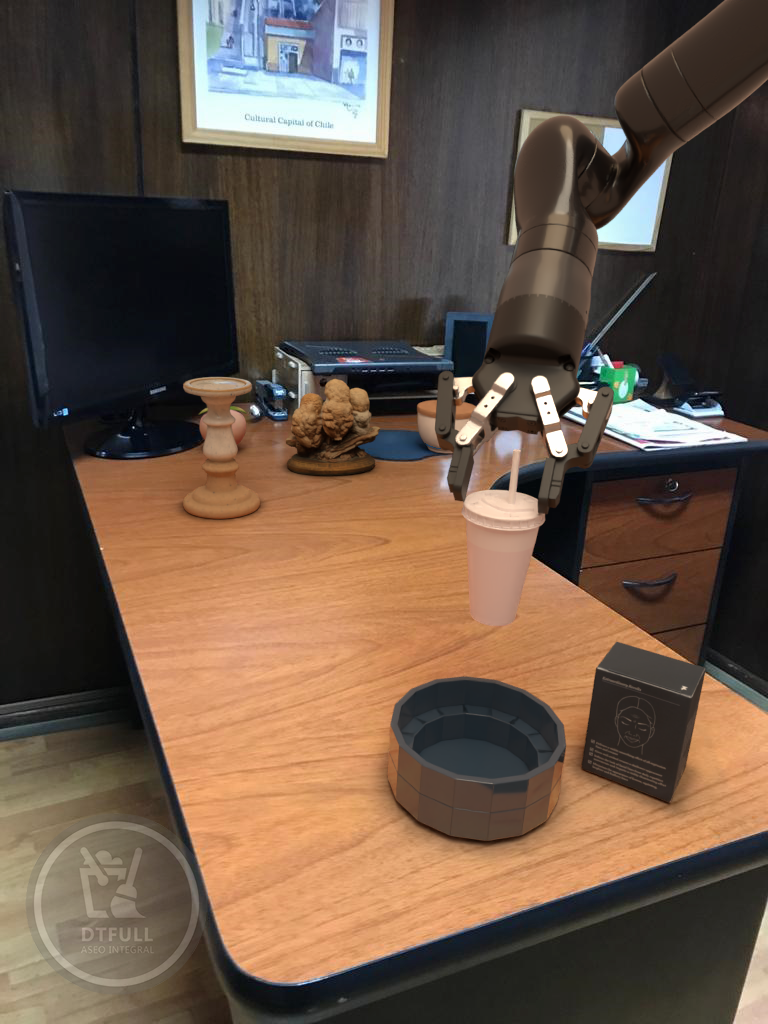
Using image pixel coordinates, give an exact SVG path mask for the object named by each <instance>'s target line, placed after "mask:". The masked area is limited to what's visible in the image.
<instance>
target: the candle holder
mask: <svg viewBox="0 0 768 1024" xmlns="http://www.w3.org/2000/svg"><path fill="white" fill-rule="evenodd" d="M182 385H183V386H182V388H183V390H184V392H185V393H187V394H189V395H192V396H198V397H200V398H201V401H202V402H203V403H205V406H206V408H208V412H207V415H206V416H205V417H204V418H203V422H204V423H205V424H206V425H207V432H206V438H205V440H204V442H203V444H202V445H203V446H202V454H203V456H204V457H205V458H207V459H206V460H204V462H203V463H202V465H201V469H202V470H203V471H204V473H205V474H206V482H205V483H206V484H203V485H200V486H198V487H196V488H195V489H194V490H193V491H190V492H189V493H187V494H186V495H185V496H184V498H183V500H182V506H183V510H185V512H187V513H188V514H190V515H193V516H196V517H198V518H203V519H213V520H214V519H215V520H217V519H219V520H222V519H224V520H225V519H233V518H239V517H243V516H247V515H250V514H252V513H254V512H255V511H257V510H258V509H259V508H260V506H261V497H260V495H259V494H258V492H255V491H254V490H252V489H250V488H248V487H247V486H245V485H242V484H240V483H237V478H236V473H237V472H238V470H239V469H240V463H239V462H238V461H237V460H236V459H235V457H236V456H237V454H238V452H239V449H238V444H236V442H235V439H234V435H233V431H232V424H234V423H235V418H234V417H233V416H232V415H231V413H230V406H232V403H234V402H235V401H236V397H238V396H239V397H240V396H243V395H246V394H248V393H250V392H251V391H252V389H253V384H252V382H251V381H250V380H247V379H243V378H238V377H228V376H208V377H207V376H206V377H196V378H192V379H189V380H185V381H184V382H183V384H182Z"/></svg>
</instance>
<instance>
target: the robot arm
mask: <svg viewBox="0 0 768 1024" xmlns="http://www.w3.org/2000/svg"><path fill="white" fill-rule="evenodd" d="M766 81H768V0H723V1H722V2H721V3H720V4H718V5H717V6H716V7H715V8H714V9H712V10H711V11H710V12H709V13H707V15H706V16H704V17H703V18H702V19H700V20H699V21H698V22H697V23H695V25H693V26H692V27H691V28H690V29H688V30H687V31H686V32H684V33H683V34H682V35H680V37H678V38H677V39H676V40H674V41H673V42H672V43H671V44H669V45H668V46H667V47H665V49H663V50H662V51H661V52H659V53H658V54H657V55H656V56H655V57H653V59H651V60H650V61H648V62H647V64H645V65H644V66H643V67H642V68H641V69H640V70H638V71H637V72H635V73H634V74H633V75H632V76H631V77H629V78H628V79H627V80H626V81H625V82H624V83H623V84H622V85H621V86H620V87H619V88H618V90H617V92H616V94H615V96H614V101H613V105H614V107H613V108H614V111H615V115H616V117H617V121H618V124H619V125H620V127H621V130H622V132H623V135H624V137H625V140H624V142H623V143H622V145H621V147H620V148H619V149H618V150H616V152H615V153H613V154H612V155H611V154H610V152H609V151H608V150H607V149H606V148H605V147H604V146H603V144H602V143H601V142H600V141H599V140H598V139H597V138H596V137H595V135H594V134H593V133H592V132H591V130H590V129H589V128H588V127H587V125H586V124H584V123H583V122H581V121H580V120H579V119H578V118H576V117H573V116H570V115H563V114H562V115H555V116H552V117H550V118H547V119H545V120H544V121H542V122H540V123H539V124H538V125H536V127H534V128H533V129H532V130H531V132H530V133H529V135H528V136H527V137H526V138H525V140H524V141H523V143H522V145H521V147H520V150H519V152H518V154H517V158H516V160H515V165H514V171H513V203H514V221H515V229H516V240H515V244H514V248H513V250H512V251H513V252H512V256H511V259H510V263H509V268H508V271H507V274H506V277H505V279H504V281H503V284H502V286H501V289H500V292H499V296H498V300H497V304H496V308H495V312H494V316H493V320H492V323H491V328H490V332H489V336H488V339H487V344H486V348H485V351H484V356H483V359H482V363H481V365H480V367H479V368H478V369H477V370H476V371H475V373H474V374H473V376H461V377H455V376H454V374H453V372H452V371H449V370H444V371H442V372H441V373H439V375H438V380H437V381H438V382H437V392H436V393H437V395H436V400H437V406H436V419H435V432H436V436H437V440H438V443H439V447H440V448H441V449H442V450H450V451H452V452H453V453H452V455H451V460H450V464H449V468H448V472H447V476H446V481H447V486H448V489H449V492H450V493H452V495H453V499H454V501H455V502H456V501H457V502H462V503H463V502H464V501H465V498H466V496H467V495H468V489H469V486H470V481H471V477H472V473H473V469H474V465H475V459H474V457H475V455H476V454H477V452H478V451H479V450H480V449H481V448H482V446H484V444H486V443H489V441H490V440H492V438H493V437H494V435H495V434H496V433H497V432H498V431H500V432H501V431H503V432H514V431H519V432H522V433H525V434H528V435H536V436H537V435H538V434H539V435H540V439H541V440H542V444H543V448H544V450H545V451H546V454H547V457H545V461H544V467H543V472H542V476H541V477H542V478H541V482H540V486H539V492H538V496H537V499H538V513H542V514H545V515H548V514H549V510H550V508H553V509H556V508H557V506H558V505H559V504H560V501H561V495H562V489H563V484H564V479H565V474H566V472H567V471H568V470H569V469H572V468H575V467H576V468H577V467H579V468H580V469H589V468H590V467H591V466H592V465H593V464H594V463H593V462H594V460H595V457H596V454H597V453H598V449H599V447H600V444H601V441H602V439H603V436H604V433H605V431H606V428H607V425H608V423H609V420H610V417H611V415H612V411H613V406H614V405H613V404H614V396H615V392H614V390H613V388H611V387H609V386H602V387H600V388H599V389H598V390H593V389H589V388H584V387H581V384H580V382H579V380H578V372H579V368H580V362H581V356H582V352H583V347H584V341H585V337H586V331H587V330H588V328H589V327H588V326H589V322H590V320H589V315H590V309H591V300H592V282H593V277H594V272H595V267H596V262H597V257H598V252H599V251H598V250H599V234H598V230H601V229H602V228H604V227H606V226H607V225H608V224H609V223H611V222H612V221H613V220H614V219H615V218H616V217H617V216H618V215H619V214H620V213H621V212H622V211H623V209H624V208H625V207H626V206H627V205H628V203H629V202H630V201H631V200H632V199H633V197H634V196H635V195H636V193H637V192H638V191H639V190H641V188H642V187H643V186H644V185H645V184H646V183H647V181H648V180H649V179H650V178H651V177H652V176H653V175H654V174H655V173H656V171H657V170H658V169H659V168H660V167H661V166H662V165H663V164H665V161H667V159H668V158H669V157H670V156H672V154H673V153H675V152H676V151H677V150H678V149H679V148H681V147H682V146H684V145H686V144H687V142H689V141H691V140H692V139H694V138H695V137H697V136H698V135H699V134H700V133H702V132H703V131H705V130H706V129H708V128H709V127H711V125H713V124H715V123H716V122H717V121H719V120H720V119H721V118H723V117H725V115H727V114H728V113H730V112H731V111H732V110H733V109H735V108H736V107H737V106H739V105H740V104H741V103H742V102H744V101H745V100H746V99H747V98H748V97H749V96H751V95H752V94H753V93H754V92H755V91H757V90H758V89H759V88H760V87H761V86H762V85H763V84H764V83H766ZM469 394H473V395H474V396H475V398H476V400H477V402H478V404H477V405H475V406H476V408H475V409H474V410H473V411H472V413H471V416H470V419H469V420H468V422H467V423H466V424H465V425H464V427H463V428H462V429H461V430H460V431H458V430H456V429H455V418H456V406H461V405H462V403H463V402H466V398H467V396H468V395H469ZM576 405H579V406H580V407H581V415H582V417H583V418H584V419H586V420H585V423H584V425H583V428H582V431H581V433H580V436H579V437H578V441H577V442H574V443H570V444H569V443H568V444H567V442H566V440H565V436H564V433H563V429H562V423H561V420H560V419H562V417H564V415H566V414H567V413H568V412H569V411H571V410H572V409H573V408H575V406H576ZM450 493H449V494H450Z"/></svg>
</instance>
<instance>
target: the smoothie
mask: <svg viewBox="0 0 768 1024" xmlns="http://www.w3.org/2000/svg"><path fill="white" fill-rule="evenodd" d="M521 454H522V450H520V449H516V448H515V449H513V451H512V460H511V469H510V476H509V477H510V478H509V485H508V490H507V489H483V490H477V491H474V492H471V493H469V494H466V498H465V501H464V502H463V501H462V508H461V512H460V514H461V515H462V516H463V518H464V519H465V529H466V530H465V536H466V551H467V552H466V555H467V556H466V558H467V580H468V601H469V602H468V605H469V615H470V617H471V618H472V619H473V620H475V622H477V623H479V624H482V625H485V626H490V627H504V626H508V625H511V624H512V623H514V622H515V621H516V617H517V613H518V611H519V605H520V603H521V598H522V595H523V591H524V587H525V583H526V579H527V575H528V572H529V567H530V565H531V560H532V557H533V554H534V553H533V552H534V548H535V544H536V542H537V536H538V533H539V530H540V527H541V526H542V525H543V524H544V523H545V521H546V514H542V513H538V498H536V497H534V496H532V495H529V494H526V493H524V492H523V493H522V492H518V491H517V488H518V480H519V471H520V464H521V462H520V461H521Z"/></svg>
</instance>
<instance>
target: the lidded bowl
mask: <svg viewBox="0 0 768 1024" xmlns="http://www.w3.org/2000/svg"><path fill="white" fill-rule="evenodd" d="M436 406H437V399H431V400H425V401H422V402H419V403H418V404H417V405H416V412H417V414H416V415H417V416H416V417H417V418H416V423H417V431H418V434H419V437H420V439H421V441H422V442H423V443H424V444H425V443H426V444H428V445H430V446H433V447H436V448H440V447H439V443H438V440H437V436H436V432H435V419H436ZM476 406H477V405H474V404H473V403H468V402H466V401H464V402H463V403H462V405H461V406H456V418H455V429H456V430H458V431H460V430H461V429H462V428H463V427H464V425H465V424H466V423H467V422H468V420H469V419H470V416H471V413H472V411H473V410H474V409H475V408H476ZM426 444H425V445H426ZM436 448H432V447H429V446H427V449H428V450H429V451H430V452H434V453H439V454H453V452H452V451H450V450H442V449H436Z"/></svg>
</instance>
